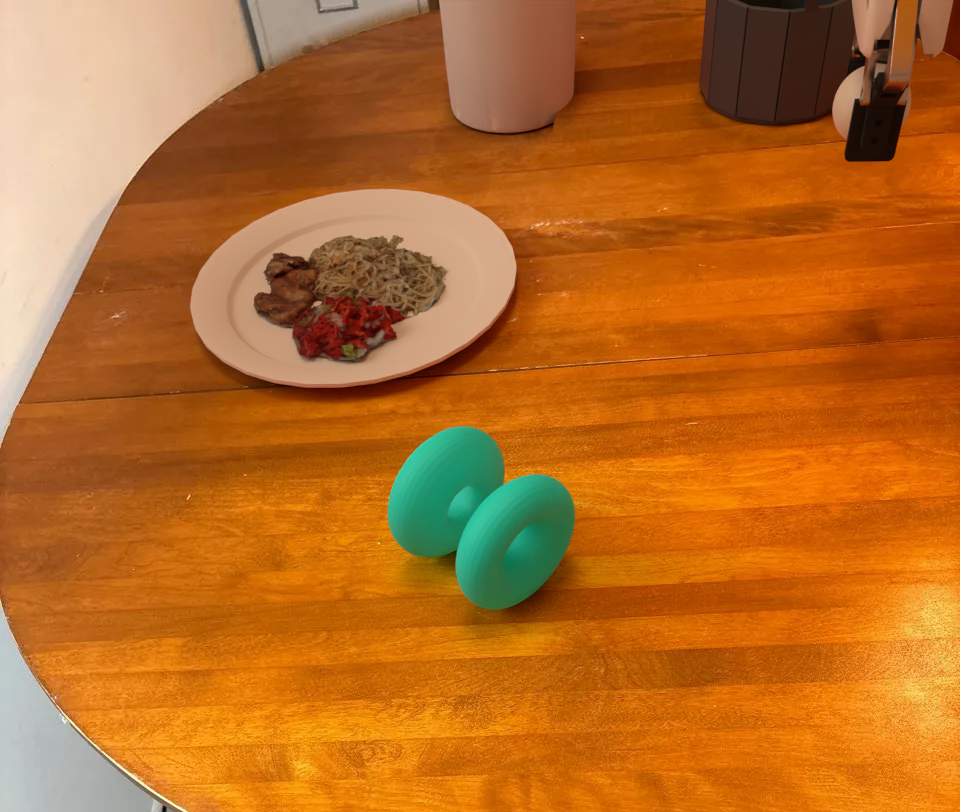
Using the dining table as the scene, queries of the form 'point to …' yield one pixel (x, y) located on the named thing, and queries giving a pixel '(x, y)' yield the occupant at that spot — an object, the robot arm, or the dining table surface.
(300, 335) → the plated food
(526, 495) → the teal spool
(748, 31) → the bin
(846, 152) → the robot arm
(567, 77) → the utensil holder
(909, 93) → the pale pink ball
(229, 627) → the dining table surface
